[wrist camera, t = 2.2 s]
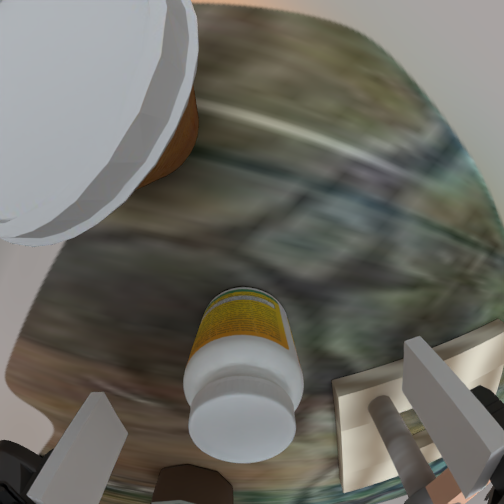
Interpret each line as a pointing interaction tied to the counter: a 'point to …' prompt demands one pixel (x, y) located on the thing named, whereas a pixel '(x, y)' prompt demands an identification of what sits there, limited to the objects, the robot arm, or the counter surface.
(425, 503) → the bar
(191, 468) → the beer bottle
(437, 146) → the counter surface
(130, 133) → the disposable coffee cup
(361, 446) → the keeper board
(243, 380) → the supplement bottle
